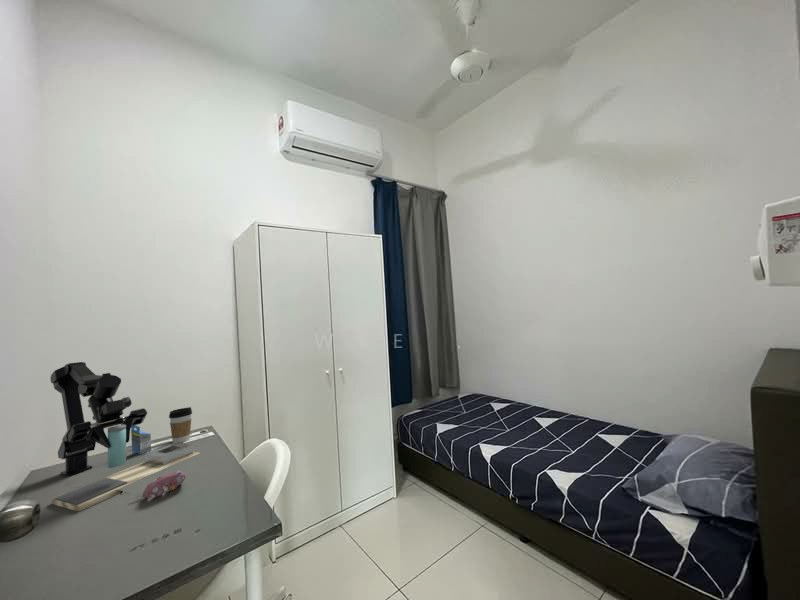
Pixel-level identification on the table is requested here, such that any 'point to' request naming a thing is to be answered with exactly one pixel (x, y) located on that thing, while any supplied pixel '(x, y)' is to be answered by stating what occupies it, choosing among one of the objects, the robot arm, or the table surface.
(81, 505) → the birch board
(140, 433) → the label tape box
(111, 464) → the teal dowel
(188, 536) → the table surface
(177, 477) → the video game controller
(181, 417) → the coffee cup
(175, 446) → the square metal frame plate
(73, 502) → the dark gray rubber pad
